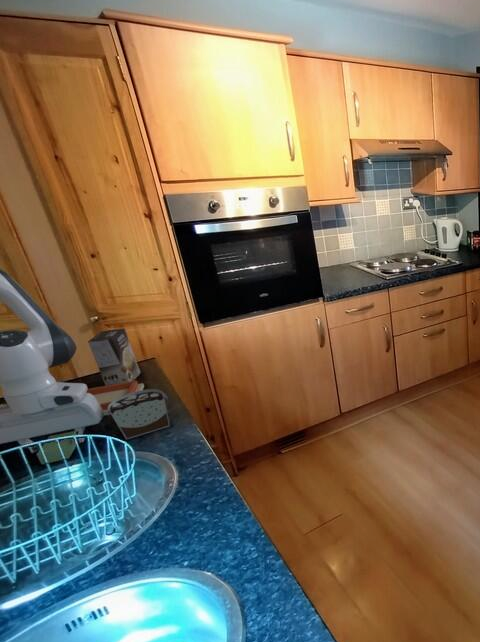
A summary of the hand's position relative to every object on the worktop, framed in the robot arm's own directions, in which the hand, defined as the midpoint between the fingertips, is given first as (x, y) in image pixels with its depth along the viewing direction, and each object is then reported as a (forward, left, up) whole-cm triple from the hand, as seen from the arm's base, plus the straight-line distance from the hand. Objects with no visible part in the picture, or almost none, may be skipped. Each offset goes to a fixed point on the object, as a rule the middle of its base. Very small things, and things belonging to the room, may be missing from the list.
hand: (59, 446), depth 111 cm
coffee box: (+5, +38, -2) cm, 38 cm away
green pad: (0, 0, -2) cm, 2 cm away
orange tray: (+4, +23, -2) cm, 23 cm away
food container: (+17, +3, -2) cm, 17 cm away
